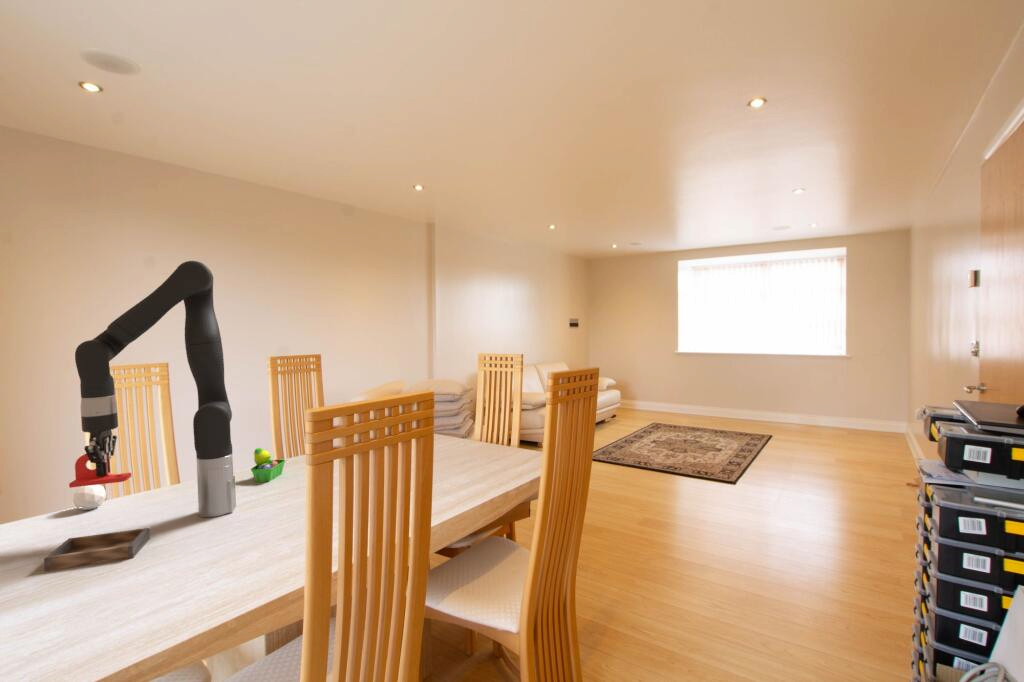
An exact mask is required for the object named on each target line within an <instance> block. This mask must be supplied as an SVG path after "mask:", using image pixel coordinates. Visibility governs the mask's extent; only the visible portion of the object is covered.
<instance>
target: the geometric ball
mask: <svg viewBox="0 0 1024 682" xmlns="http://www.w3.org/2000/svg"><path fill="white" fill-rule="evenodd" d="M106 496H107V490H105V487H104V485H101V484H98V485H89V486H80V487H78V489H77V490H76V491H75V492H74V493H73V499H72V501H73V504H74V506H75V507H76V508H77V509H79V510H83V511H85V510H86V511H87V510H94V509H96V508H98V507H100V506H101V505H102V504H103V502H104V501H105V500H106ZM79 507H82V508H79Z"/></svg>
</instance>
